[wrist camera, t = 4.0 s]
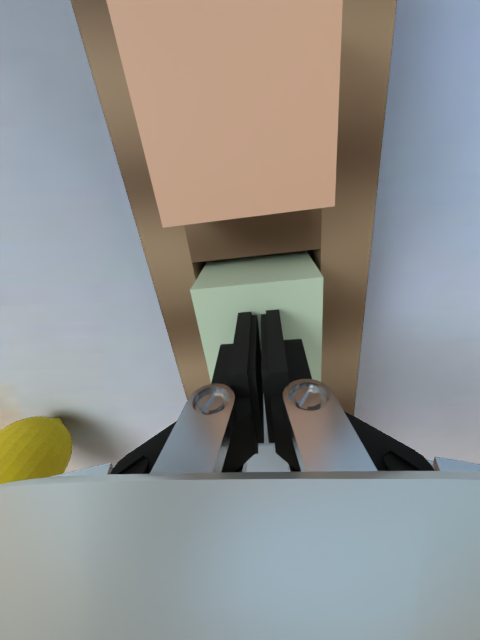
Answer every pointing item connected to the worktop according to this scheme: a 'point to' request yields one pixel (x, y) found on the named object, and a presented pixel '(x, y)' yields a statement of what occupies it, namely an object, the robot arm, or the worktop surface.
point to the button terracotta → (234, 103)
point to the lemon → (34, 449)
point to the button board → (274, 229)
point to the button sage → (260, 301)
